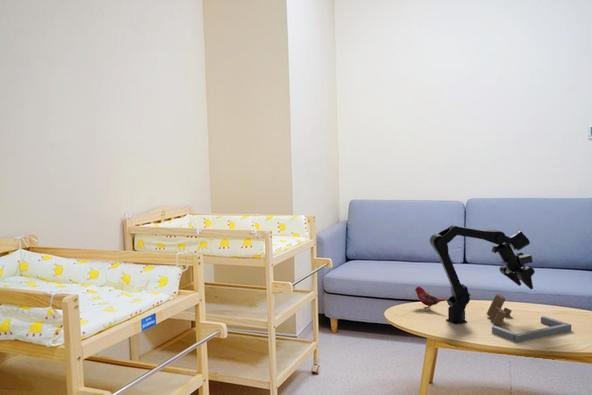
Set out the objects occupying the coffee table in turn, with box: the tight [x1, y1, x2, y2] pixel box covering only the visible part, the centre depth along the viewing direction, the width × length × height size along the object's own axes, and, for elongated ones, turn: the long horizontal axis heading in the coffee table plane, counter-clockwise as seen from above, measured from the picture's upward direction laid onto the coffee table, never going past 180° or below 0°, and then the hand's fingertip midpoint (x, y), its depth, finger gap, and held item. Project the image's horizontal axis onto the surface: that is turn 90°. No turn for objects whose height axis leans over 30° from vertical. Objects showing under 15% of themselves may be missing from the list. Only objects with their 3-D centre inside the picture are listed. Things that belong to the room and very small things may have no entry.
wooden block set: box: [486, 293, 512, 327], centre depth 223 cm, size 18×9×10 cm, turn 151°
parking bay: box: [491, 315, 572, 344], centre depth 207 cm, size 29×13×2 cm, turn 113°
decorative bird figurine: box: [414, 286, 448, 310], centre depth 242 cm, size 3×18×10 cm, turn 43°
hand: (526, 287), depth 222 cm, fingers open, 9 cm apart
